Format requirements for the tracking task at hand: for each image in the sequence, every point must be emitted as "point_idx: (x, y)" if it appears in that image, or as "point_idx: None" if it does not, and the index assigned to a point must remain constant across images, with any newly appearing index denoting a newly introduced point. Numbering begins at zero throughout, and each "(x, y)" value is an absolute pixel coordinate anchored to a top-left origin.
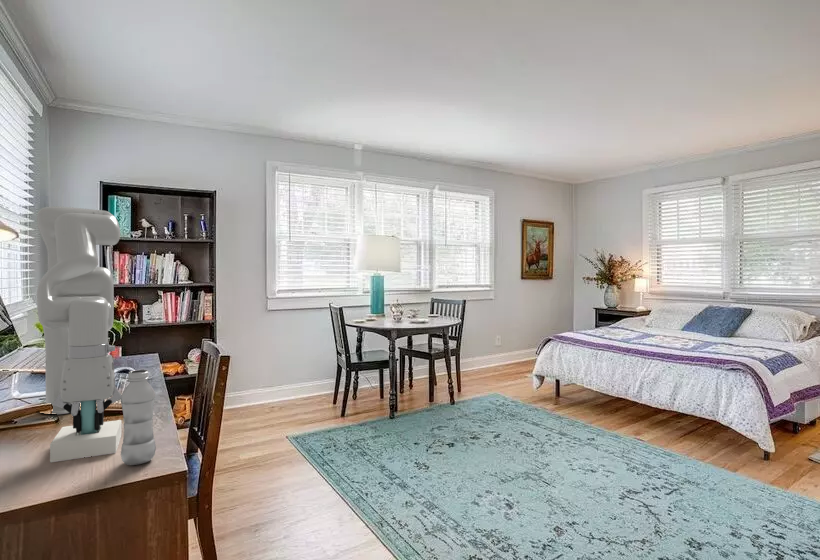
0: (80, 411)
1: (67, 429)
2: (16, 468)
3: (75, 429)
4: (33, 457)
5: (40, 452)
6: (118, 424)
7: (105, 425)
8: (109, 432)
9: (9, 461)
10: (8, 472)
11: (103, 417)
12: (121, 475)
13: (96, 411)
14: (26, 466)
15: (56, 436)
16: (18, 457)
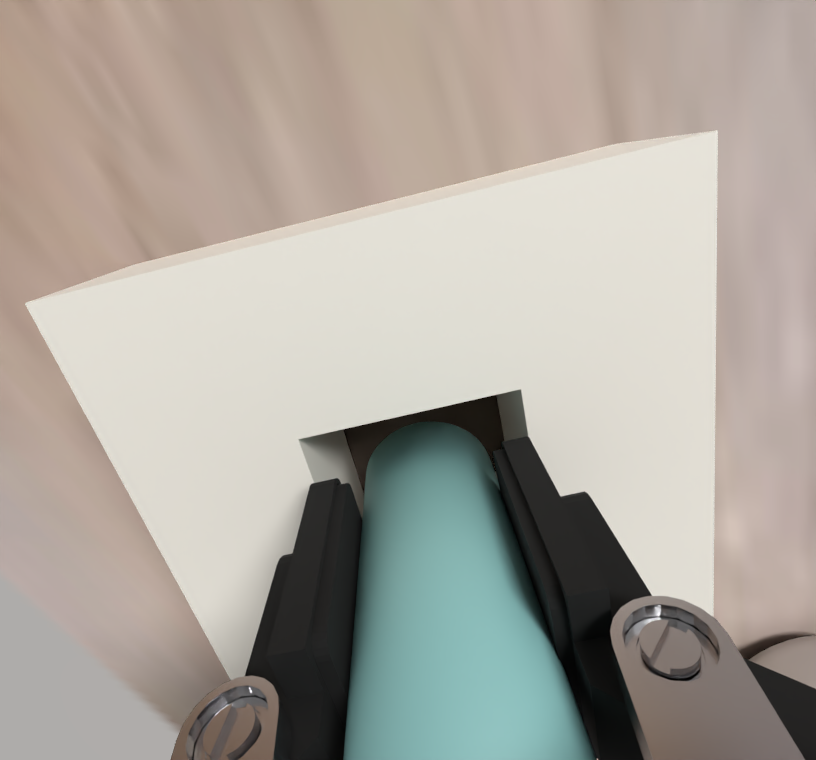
0: (328, 742)
1: (165, 419)
2: (141, 651)
3: (261, 433)
4: (115, 521)
5: (93, 441)
6: (699, 342)
7: (554, 350)
8: (647, 571)
9: (2, 558)
10: (139, 687)
11: (614, 539)
12: None
13: (595, 749)
14: (180, 636)
15: (191, 594)
16: (3, 505)
